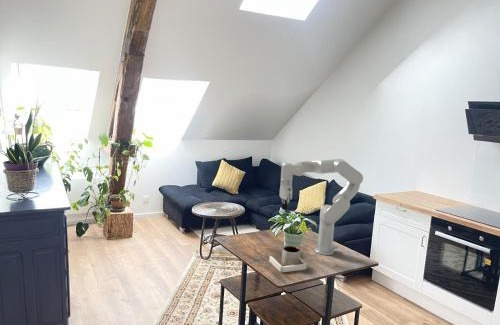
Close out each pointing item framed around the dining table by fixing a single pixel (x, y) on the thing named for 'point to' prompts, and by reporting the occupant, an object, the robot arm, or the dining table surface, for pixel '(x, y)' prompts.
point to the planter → (290, 255)
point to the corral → (301, 266)
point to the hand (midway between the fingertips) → (284, 209)
